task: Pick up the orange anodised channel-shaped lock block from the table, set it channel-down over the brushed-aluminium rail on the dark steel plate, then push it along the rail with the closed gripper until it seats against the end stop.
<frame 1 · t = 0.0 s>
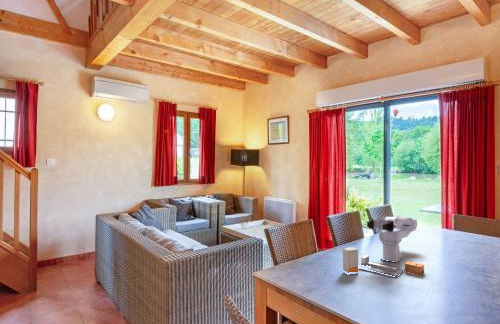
hand: (375, 225, 148), 22 cm above the table, tool horizontal, fingers open, 7 cm apart
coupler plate: (380, 269, 148), on the table
skincare box: (350, 273, 144), on the table
lock block: (414, 272, 143), on the table
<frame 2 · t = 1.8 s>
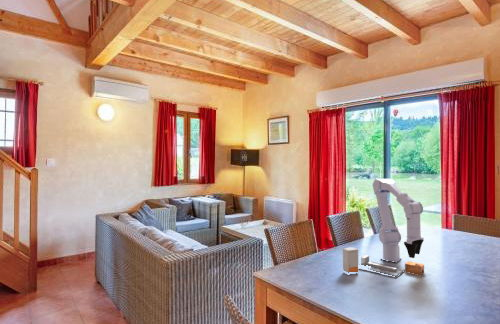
hand: (414, 255, 143), 8 cm above the table, tool pointing down, fingers open, 7 cm apart
nothing on the table moved.
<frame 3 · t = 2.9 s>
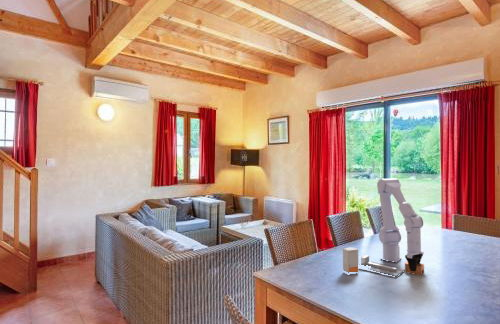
hand: (414, 269, 143), 1 cm above the table, tool pointing down, fingers closed on lock block, 5 cm apart
lock block: (414, 272, 143), on the table, touching gripper
everything else where it was.
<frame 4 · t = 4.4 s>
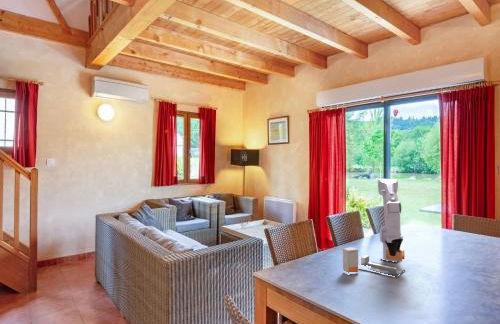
hand: (394, 254, 145), 8 cm above the table, tool pointing down, fingers closed on lock block, 5 cm apart
lock block: (395, 258, 145), point 6 cm above the table, touching gripper
everything else where it was.
when the fingers open (3 cm above the table, at t = 6.1 s): lock block stays where it is, resting on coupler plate.
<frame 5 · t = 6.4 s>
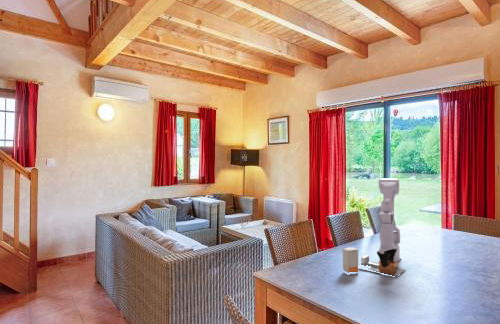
hand: (387, 264, 145), 3 cm above the table, tool pointing down, fingers open, 7 cm apart
lock block: (388, 269, 145), point 1 cm above the table, touching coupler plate
everything else where it was.
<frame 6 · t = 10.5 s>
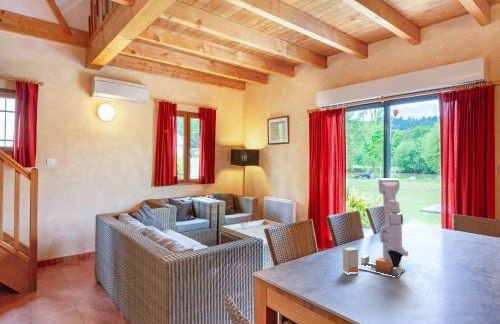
hand: (395, 266, 143), 3 cm above the table, tool pointing down, fingers closed
lock block: (384, 268, 146), point 1 cm above the table, touching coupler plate, gripper
everything else where it was.
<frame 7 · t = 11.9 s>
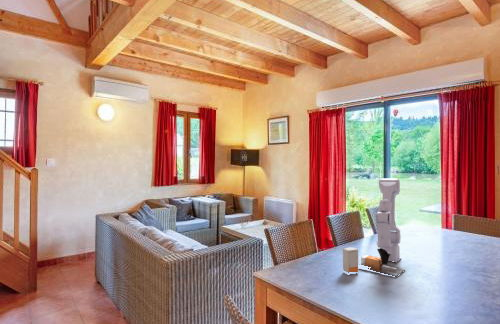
hand: (384, 264, 146), 3 cm above the table, tool pointing down, fingers closed
lock block: (374, 266, 150), point 1 cm above the table, touching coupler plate, gripper
everything else where it was.
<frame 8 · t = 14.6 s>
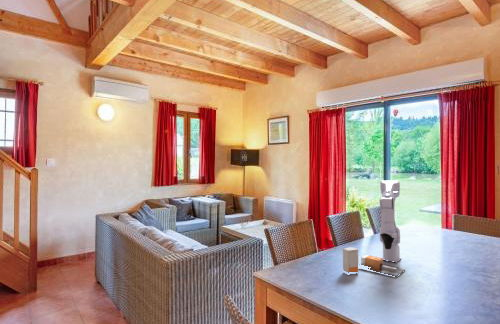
hand: (388, 248, 149), 10 cm above the table, tool pointing down, fingers closed
lock block: (374, 266, 150), point 1 cm above the table, touching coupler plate
everything else where it was.
at the end: lock block 1.1 cm from the target spot, point 1.0 cm above the table; lock block tilted 0°; the gripper is holding nothing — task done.
